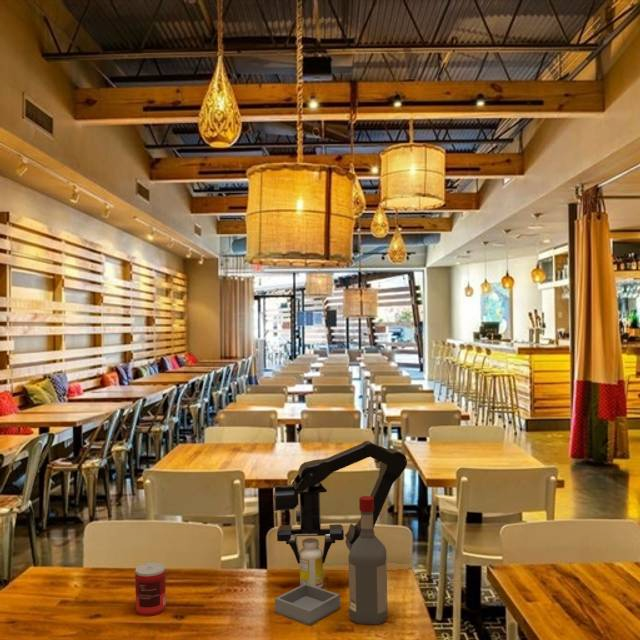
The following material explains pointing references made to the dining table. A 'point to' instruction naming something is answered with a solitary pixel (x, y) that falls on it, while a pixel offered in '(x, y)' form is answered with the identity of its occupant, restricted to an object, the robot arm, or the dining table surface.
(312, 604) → the tray
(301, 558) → the supplement bottle
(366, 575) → the liquor
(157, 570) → the canned food
